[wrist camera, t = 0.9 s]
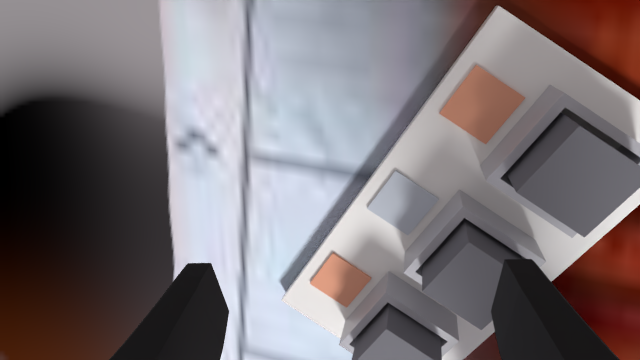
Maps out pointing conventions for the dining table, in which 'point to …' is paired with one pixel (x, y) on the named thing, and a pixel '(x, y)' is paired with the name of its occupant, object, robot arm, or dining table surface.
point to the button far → (396, 338)
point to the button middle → (466, 272)
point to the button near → (574, 175)
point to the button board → (464, 184)
